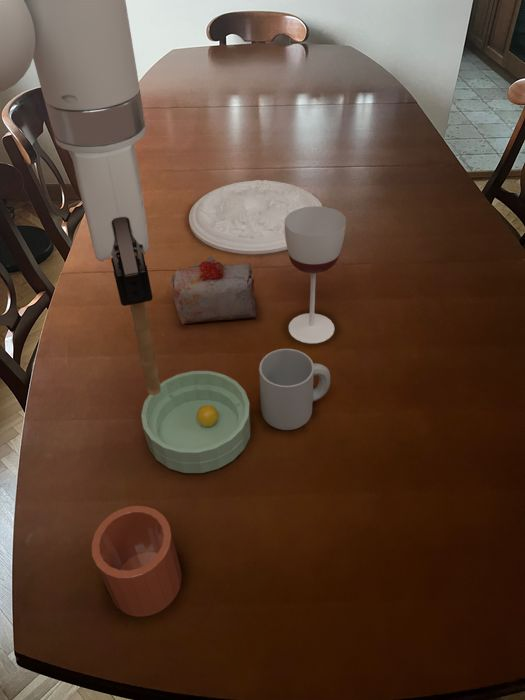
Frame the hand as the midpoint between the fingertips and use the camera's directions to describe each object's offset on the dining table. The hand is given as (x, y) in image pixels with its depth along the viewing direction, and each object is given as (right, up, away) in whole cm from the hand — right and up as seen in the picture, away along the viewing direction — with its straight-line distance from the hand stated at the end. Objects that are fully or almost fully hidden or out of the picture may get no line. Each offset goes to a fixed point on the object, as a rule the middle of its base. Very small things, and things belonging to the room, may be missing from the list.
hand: (135, 294), depth 61 cm
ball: (+6, -15, +20) cm, 25 cm away
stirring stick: (0, -11, +10) cm, 14 cm away
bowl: (+4, -17, +20) cm, 27 cm away
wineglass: (+21, -2, +36) cm, 42 cm away
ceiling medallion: (+12, +22, +62) cm, 67 cm away
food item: (+5, +1, +40) cm, 40 cm away
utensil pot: (0, -32, +5) cm, 32 cm away
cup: (+18, -14, +23) cm, 33 cm away
